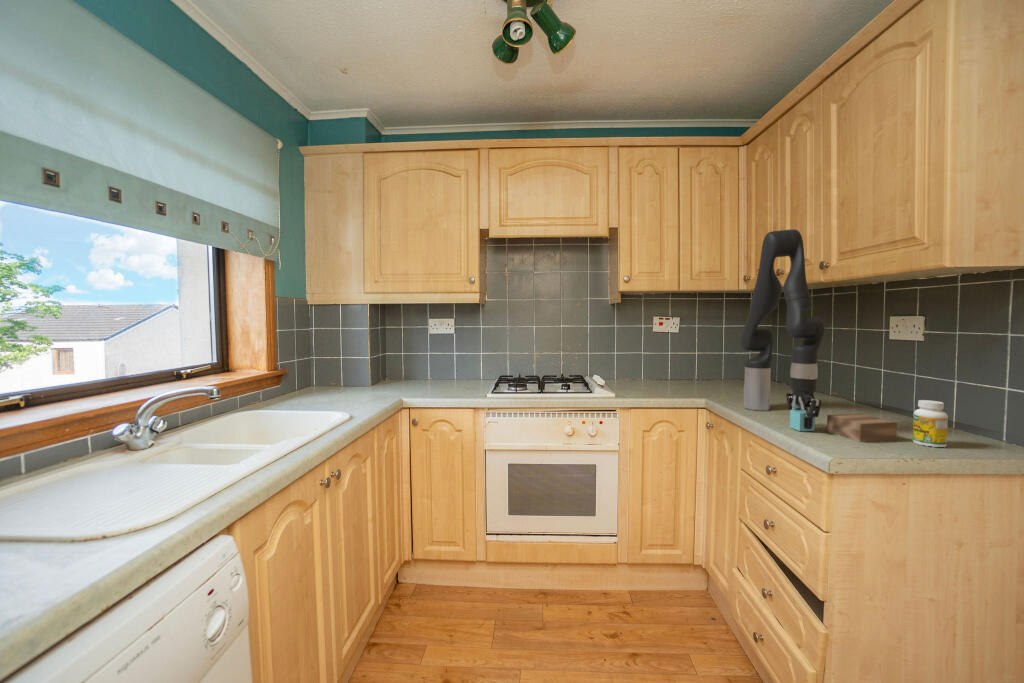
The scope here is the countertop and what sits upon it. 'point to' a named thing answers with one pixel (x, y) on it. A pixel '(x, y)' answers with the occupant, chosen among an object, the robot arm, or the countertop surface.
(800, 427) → the teal block
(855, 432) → the walnut box
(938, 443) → the supplement bottle
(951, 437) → the countertop surface
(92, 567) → the countertop surface
